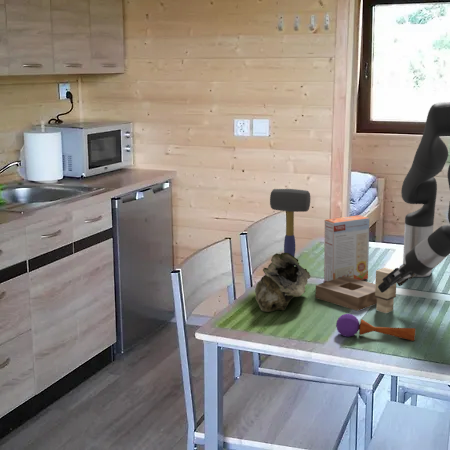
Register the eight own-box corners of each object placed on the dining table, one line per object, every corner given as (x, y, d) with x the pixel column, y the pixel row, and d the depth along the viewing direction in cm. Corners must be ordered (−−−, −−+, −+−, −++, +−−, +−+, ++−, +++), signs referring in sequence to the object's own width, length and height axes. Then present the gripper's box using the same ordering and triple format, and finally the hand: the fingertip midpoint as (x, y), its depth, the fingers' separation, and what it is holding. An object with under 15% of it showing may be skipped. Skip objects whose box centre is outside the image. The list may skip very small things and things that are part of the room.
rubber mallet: (268, 278, 233) (268, 189, 226) (274, 272, 240) (275, 186, 233) (304, 282, 229) (306, 191, 222) (310, 275, 236) (311, 187, 229)
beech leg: (382, 306, 205) (384, 267, 202) (395, 310, 202) (397, 270, 199) (374, 310, 202) (375, 270, 200) (386, 314, 199) (388, 273, 197)
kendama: (416, 331, 176) (336, 319, 180) (413, 350, 179) (334, 339, 183) (415, 318, 182) (338, 308, 186) (412, 338, 184) (336, 327, 188)
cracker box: (357, 274, 236) (359, 214, 232) (368, 279, 231) (370, 217, 226) (322, 280, 231) (324, 218, 226) (333, 285, 225) (334, 222, 221)
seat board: (344, 288, 223) (344, 275, 222) (386, 299, 211) (387, 287, 210) (315, 297, 213) (315, 285, 213) (357, 310, 202) (358, 297, 201)
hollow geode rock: (293, 300, 226) (263, 264, 228) (321, 277, 221) (290, 240, 222) (264, 327, 200) (230, 287, 202) (295, 301, 195) (260, 260, 197)
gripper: (432, 239, 195) (396, 270, 206) (403, 248, 186) (366, 280, 196) (448, 261, 192) (410, 291, 203) (420, 272, 183) (381, 303, 194)
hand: (389, 286), depth 200 cm, fingers open, 8 cm apart
